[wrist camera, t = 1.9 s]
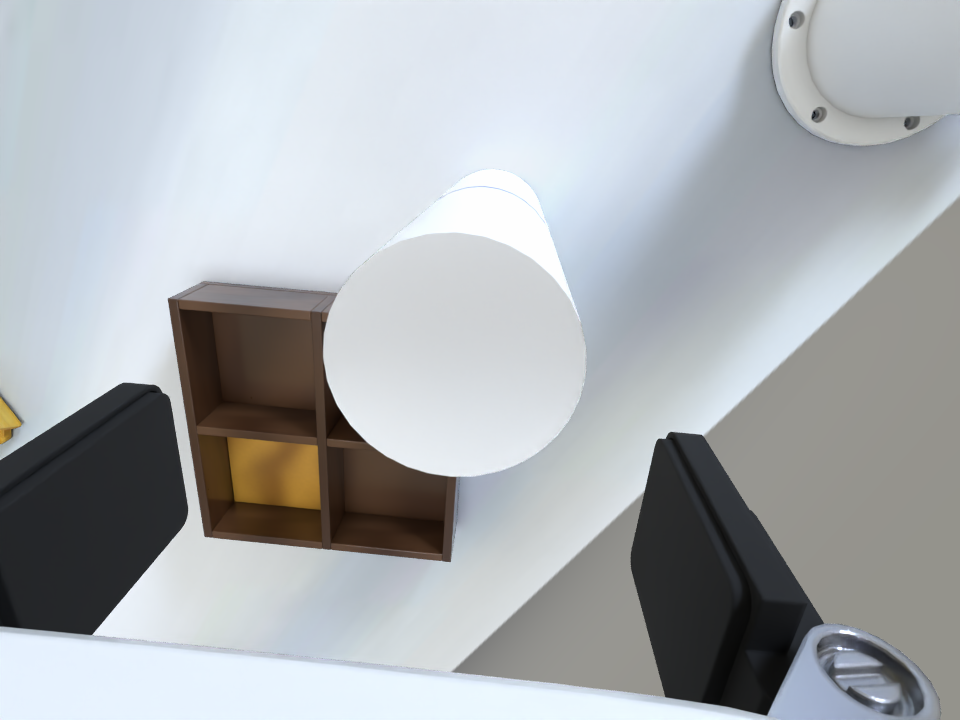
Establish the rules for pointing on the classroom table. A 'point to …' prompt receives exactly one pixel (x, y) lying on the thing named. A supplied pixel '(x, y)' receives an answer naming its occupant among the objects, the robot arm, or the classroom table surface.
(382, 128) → the classroom table surface
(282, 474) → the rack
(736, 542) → the robot arm
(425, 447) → the cylindrical container
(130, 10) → the classroom table surface
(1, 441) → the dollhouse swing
